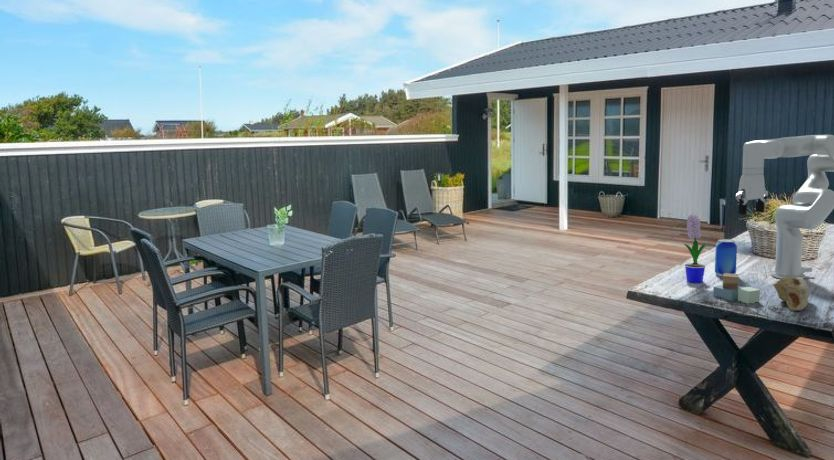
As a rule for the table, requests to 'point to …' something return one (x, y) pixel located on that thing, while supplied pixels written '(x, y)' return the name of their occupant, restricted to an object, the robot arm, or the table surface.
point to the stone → (793, 292)
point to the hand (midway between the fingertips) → (751, 213)
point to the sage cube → (748, 295)
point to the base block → (725, 292)
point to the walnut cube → (730, 281)
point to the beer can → (725, 257)
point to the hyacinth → (694, 251)
